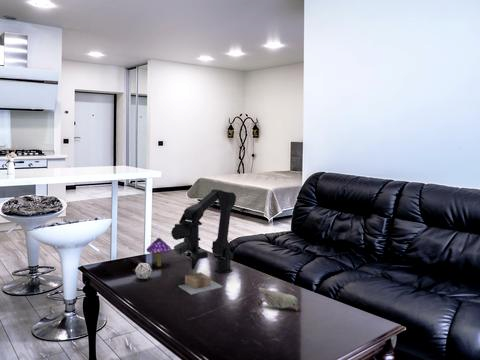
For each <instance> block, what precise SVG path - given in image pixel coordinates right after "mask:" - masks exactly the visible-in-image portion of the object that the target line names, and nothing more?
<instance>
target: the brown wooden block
mask: <svg viewBox="0 0 480 360" xmlns="http://www.w3.org/2000/svg"><path fill="white" fill-rule="evenodd" d="M210 280H211V277H210V276H208V275H207V274H205V273H202V272H200V271H199V272H194V273H190V274H185V275H184V283H185V284H187V285H189V286H191V287H192V288H194V289H197V288H202V287H206V286H210Z"/></svg>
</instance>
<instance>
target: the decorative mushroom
mask: <svg viewBox="0 0 480 360" xmlns="http://www.w3.org/2000/svg"><path fill="white" fill-rule="evenodd" d="M171 250H172V248H171V246H170V245H168V243H167V242H165V241H164V240H163V239H162V238H160V237H157V238H156V239H155V240H154V241H153V242H152V243H151V244H150V245H149V246H148V247H147V248H146V252H147V253H150V254H156V262H157V264H156V266H157V267H161V266H162V258H161V257H162V255H161V254H164V253H168V252H171Z"/></svg>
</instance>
